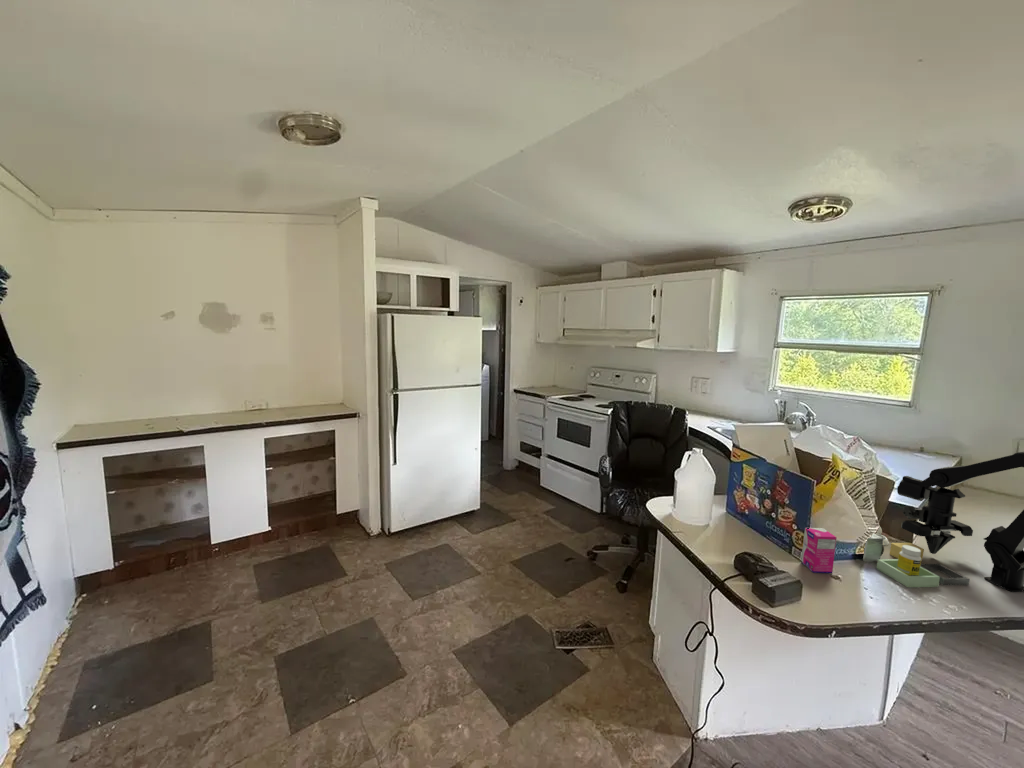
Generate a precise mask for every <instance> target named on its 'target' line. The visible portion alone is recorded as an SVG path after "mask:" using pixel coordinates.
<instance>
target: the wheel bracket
mask: <svg viewBox="0 0 1024 768" xmlns="http://www.w3.org/2000/svg"><path fill="white" fill-rule="evenodd" d="M882 544H883V538H882V537H880V536H878V535H876V534H873V535H872V536H871V537H870V538H868V539H867V541H866V543H865V548H864V555H862V556H863V558H862V562H865V563H867V562H868V563H871V562H872V563H873V562H878V559H881V556H883V554H884V551H885V547H884V545H882Z"/></svg>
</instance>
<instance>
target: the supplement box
mask: <svg viewBox="0 0 1024 768" xmlns="http://www.w3.org/2000/svg"><path fill="white" fill-rule="evenodd" d="M807 528H809V529H807ZM802 543H803V544H802V551H801V558H802V559H801V561H802V563H801V564H803V565H804V566H805V565H806V566H807V567H808V568H807V567H806V566H805V567H806V568H807V569H809V571H811V572H812V573H813V574H829V573H832V574H833V569H834V561H835V555H836V545H837V536H835V535H834V534H832V533H831V532H830V531H828V530H826V529H825V528H824V527H822V528H821V527H804V533H803V542H802ZM801 561H800V562H801Z"/></svg>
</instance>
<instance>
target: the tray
mask: <svg viewBox="0 0 1024 768" xmlns="http://www.w3.org/2000/svg"><path fill="white" fill-rule="evenodd" d="M897 564H898V559H897V558H894V559H893V558H890V559H888V558H887V559H886V558H885V559H884V558H882V559H881V558H880V559H878V562H877V563H876V570H878V571H879V572H881V573H882V574H885V575H886V576H888V577H890V578H891V579H893V580H894V581H896V582H898V583H900V584H901V585H903V586H905V588H906V587H907V588H938V587H939V584H940V583H939V580H940V577H939V576H940V575H939V576H937V575H938V574H937V575H935V574H936V573H935V572H934V573H935V574H934V573H932V572H933V571H932V572H930V571H928V570H926V569H924V568H922V567H920V570H919V576H908V575H907V574H905V573H903V572H901V571H900V570H898V569H897Z"/></svg>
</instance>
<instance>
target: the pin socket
mask: <svg viewBox="0 0 1024 768" xmlns="http://www.w3.org/2000/svg"><path fill="white" fill-rule="evenodd" d="M920 567H922V568H924V569H926V570H928V571H930V572H932V573H934V574H935V575H937V576H939V577H940V580H939V584H940V585H942V586H969V585H970V581H971V580H970V578H968V577H966V576H965V575H962V574H960V573H959V572H957V571H955V570H952V569H951V568H949V567H947V566H945V565H943V564H940V563H921V564H920ZM934 571H936V572H937V571H938V572H940V573H943V574H944V575H946V576H948V577H943V576H941V575H939V574H937V573H935V572H934Z"/></svg>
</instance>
